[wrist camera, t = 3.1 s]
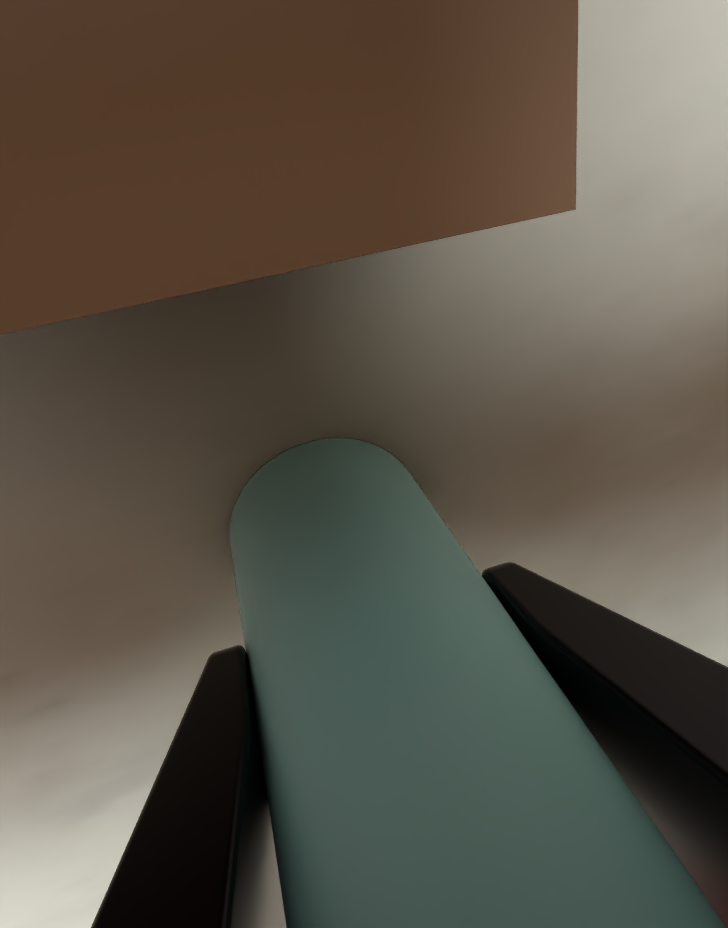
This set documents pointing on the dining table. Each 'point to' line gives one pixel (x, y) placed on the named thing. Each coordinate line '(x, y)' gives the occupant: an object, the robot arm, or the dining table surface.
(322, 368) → the dining table surface
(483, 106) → the hole block
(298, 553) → the dowel
